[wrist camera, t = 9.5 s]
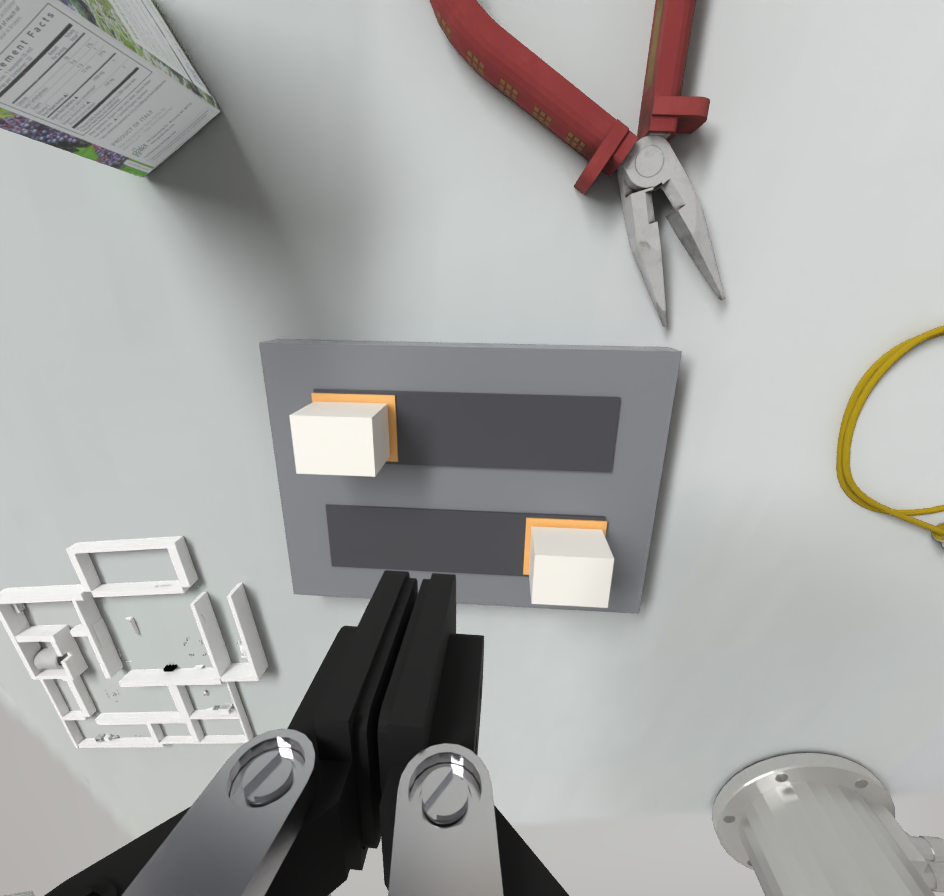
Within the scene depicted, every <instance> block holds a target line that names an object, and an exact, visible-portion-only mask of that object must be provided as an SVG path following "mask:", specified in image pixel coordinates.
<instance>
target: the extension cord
mask: <svg viewBox="0 0 944 896" xmlns="http://www.w3.org/2000/svg"><path fill="white" fill-rule="evenodd" d="M943 334H944V326H941V327H937V328H935V329H933V330H930V331H928V332H925V333H923V334H921V335H918V336H916V337H914V338H911V339H909V340H907V341H905V342H903V343H901V344H899V345H898V346H896V347H894V348H893V349H891V350H890V351H888V352H887V353H886V354H884V355H883V356H882V357H881V358H880V359H879V360H877V361H876V362H875V363H874V364H873V365H872V366H871V367H870V369H869V370H868V371H867V372H866V373H865V374H864V376H863V377H862V379H861V380H860V382H859V383H858V384H857V386H856V388H855V390H854V392H853V394H852V395H851V397H850V400H849V402H848V405H847V407H846V410H845V413H844V416H843V420H842V423H841V428H840V433H839V438H838V447H837V464H836V470H837V478H838V480H839V483H840V485H841V487H842V489H843V490H844V492H845V493H846V495H847V496H848V497H850V498H851V499H852V500H853V501H854V502H856V503H857V504H859V505H860V506H862V507H865V508H867V509H870V510H872V511H876V512H880V513H884V514H890V515H892V516H895V517H897V518H900V519H902V520H904V521H907V522H910V523H912V524H915V525H917V526H920V527H923V528H925V529H928V530H930V531H932V536H933V538H934V539H935V540H936V541H938V542H941V543H942V547H943V548H944V523H941V524H938V525H936V526H933V525H931V524H928V523H926V522H923V521H920V520H918V519H915V518H913V517H910V516H908V515H923V514H931V513H936V512H941V511H944V505H941V506H936V507H932V508H924V509H916V510H895V509H891V508H889V507H887V506H884V505H882V504H880V503H878V502H876V501H875V500H873V499H871V498H870V497H868V496H867V495H866V494H865V493H863V492H862V491H861V490H860V489H859V488H858V487H857V485H856V484H855V482H854V480H853V478H852V475H851V470H850V447H851V442H852V436H853V431H854V428H855V425H856V422H857V418H858V416H859V414H860V411H861V409H862V407H863V405H864V403H865V401H866V399H867V397H868V396H869V394H870V392H871V391H872V389H873V388H874V386H875V385H876V383H877V382H878V381H879V379H880V378H881V377H882V375H883V374H884V373H885V372H886V371H887V370H888V369H889V368H890V367H891V365H892V364H893V363H895V362H896V361H897V360H898V359H899V358H900V357H901V356H902V355H903V354H905V353H906V352H907V351H909V350H910V349H912V348H913V347H914V346H916V345H917V344H919V343H921V342H923V341H924V340H927V339H930V338H933V337H937V336H940V335H943ZM870 378H871V379H870ZM847 483H848V485H849V486H848V485H847ZM850 488H851V489H852V490H851V489H850ZM852 491H853V492H854V493H855V494H854V493H853V492H852Z"/></svg>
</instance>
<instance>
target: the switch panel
mask: <svg viewBox="0 0 944 896" xmlns="http://www.w3.org/2000/svg"><path fill="white" fill-rule="evenodd" d="M259 345H260V352H261V359H262V367H263V374H264V381H265V388H266V395H267V403H268V410H269V417H270V424H271V432H272V439H273V446H274V453H275V460H276V468H277V475H278V482H279V489H280V497H281V504H282V511H283V518H284V525H285V533H286V540H287V547H288V554H289V562H290V569H291V576H292V583H293V590H294V594H300V595H318V596H336V597H354V598H372V596H373V593H374V591H375V589H376V587H377V585H378V583H379V581H380V579H381V577H382V575H383V573H384V571H385V570H391V571H407V572H409V574H410V578H416V579H417V582H418V592H419V589H420V586H421V583H422V580H423V579H431V575H432V573H440V574H455V575H456V603H461V604H479V605H496V606H514V607H532V608H550V609H568V610H586V611H604V612H621V613H639V610H640V604H641V597H642V591H643V585H644V579H645V573H646V567H647V561H648V555H649V548H650V542H651V536H652V530H653V524H654V518H655V512H656V506H657V499H658V493H659V487H660V481H661V475H662V469H663V463H664V457H665V450H666V444H667V438H668V432H669V426H670V420H671V414H672V408H673V401H674V395H675V389H676V383H677V377H678V371H679V365H680V358H681V351H678V350H675V349H672V348H668V347H629V346H580V345H531V344H482V343H433V342H384V341H335V340H286V339H276V340H271V341H266V342H260V343H259ZM314 401H319V402H354V403H387V405H388V425H389V445H390V457H389V458H388V460H387V461H386V462H385V464H384V465H383V467H382V468H381V469H380V471H379V472H378V474H377V475H376V476H375V477H371V476H346V475H320V474H296V466H295V458H294V449H293V441H292V433H291V425H290V417H289V415H291V414H293V413H294V412H296V411H298V410H300V409H302V408H303V407H305V406H307V405H309V404H311V403H313V402H314ZM531 526H534V527H556V528H578V529H601V530H602V531H603V533H604V536H605V538H606V540H607V543H608V545H609V548H610V550H611V552H612V555H613V557H614V564H613V572H612V579H611V587H610V594H609V601H608V608H599V607H581V606H563V605H545V604H532V603H531V592H530V581H529V557H530V541H531Z"/></svg>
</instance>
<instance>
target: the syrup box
mask: <svg viewBox="0 0 944 896" xmlns="http://www.w3.org/2000/svg"><path fill="white" fill-rule="evenodd" d="M218 113H220V108H219V106H218V104H217V103H216V101H215V99H214V98H213V96H212V95H211V93H210V91H209V90H208V88H207V87H206V85H205V84H204V82H203V81H202V79H201V77H200V76H199V74H198V73H197V71H196V69H195V68H194V66H193V65H192V63H191V62H190V60H189V58H188V57H187V55H186V54H185V52H184V51H183V49H182V47H181V46H180V44H179V43H178V41H177V39H176V38H175V36H174V35H173V33H172V32H171V30H170V28H169V27H168V25H167V23H166V22H165V20H164V19H163V17H162V15H161V14H160V12H159V11H158V9H157V7H156V6H155V4H154V3H153V1H152V0H0V128H2V129H5V130H8V131H11V132H14V133H17V134H20V135H23V136H26V137H28V138H31V139H33V140H37V141H40V142H43V143H46V144H49V145H52V146H54V147H57V148H60V149H63V150H66V151H69V152H71V153H74V154H77V155H80V156H82V157H85V158H88V159H91V160H94V161H97V162H99V163H102V164H105V165H108V166H111V167H114V168H117V169H120V170H123V171H125V172H128V173H131V174H133V175H136V176H139V177H144V176H146V175H147V174H149V173H150V172H151V171H152V170H153V169H155V168H156V167H157V166H158V165H159V164H161V163H162V162H163V161H164V160H165V159H166V158H168V157H169V156H170V155H171V154H172V153H174V152H175V151H176V150H177V149H178V148H180V147H181V146H182V145H183V144H184V143H185V142H186V141H188V140H189V139H190V138H191V137H192V136H193V135H195V134H196V133H197V132H198V131H199V130H200V129H201V128H202V127H204V126H205V125H206V124H207V123H208V122H209V121H210V120H211V119H213V118H214V117H215V116H216V115H217V114H218Z"/></svg>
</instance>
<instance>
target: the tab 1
mask: <svg viewBox="0 0 944 896" xmlns="http://www.w3.org/2000/svg"><path fill="white" fill-rule="evenodd" d="M289 417H290V425H291V433H292V441H293V449H294V458H295V466H296V474H320V475H346V476H371V477H375V476H376V475H377V474H378V472H379V471H380V469H381V468H382V467H383V465H384V464H385V462H386V461H387V460H388V458H389V457H390V445H389V425H388V405H387V403H354V402H319V401H314V402H313V403H311V404H309V405H307V406H305V407H303V408H302V409H300V410H298V411H296V412H294V413H293V414H291V415H289Z"/></svg>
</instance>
